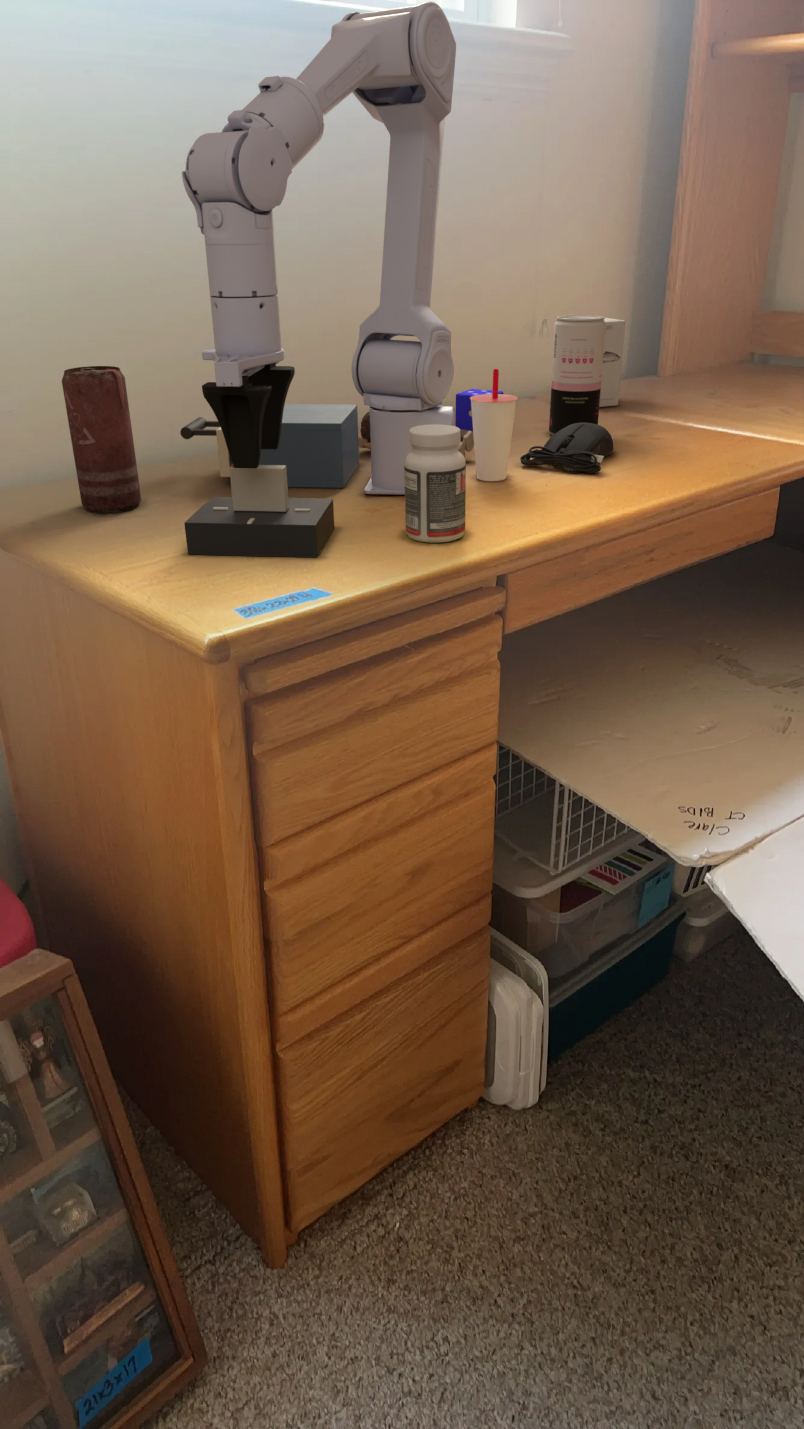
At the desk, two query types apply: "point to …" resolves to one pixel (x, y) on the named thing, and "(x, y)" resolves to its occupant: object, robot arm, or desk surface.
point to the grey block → (260, 488)
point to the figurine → (365, 441)
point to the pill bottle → (435, 484)
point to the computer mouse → (574, 448)
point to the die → (467, 407)
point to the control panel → (260, 529)
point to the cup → (492, 432)
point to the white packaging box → (612, 361)
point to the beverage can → (576, 370)
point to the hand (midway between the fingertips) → (256, 457)
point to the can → (102, 438)
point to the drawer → (199, 429)
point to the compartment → (317, 445)
